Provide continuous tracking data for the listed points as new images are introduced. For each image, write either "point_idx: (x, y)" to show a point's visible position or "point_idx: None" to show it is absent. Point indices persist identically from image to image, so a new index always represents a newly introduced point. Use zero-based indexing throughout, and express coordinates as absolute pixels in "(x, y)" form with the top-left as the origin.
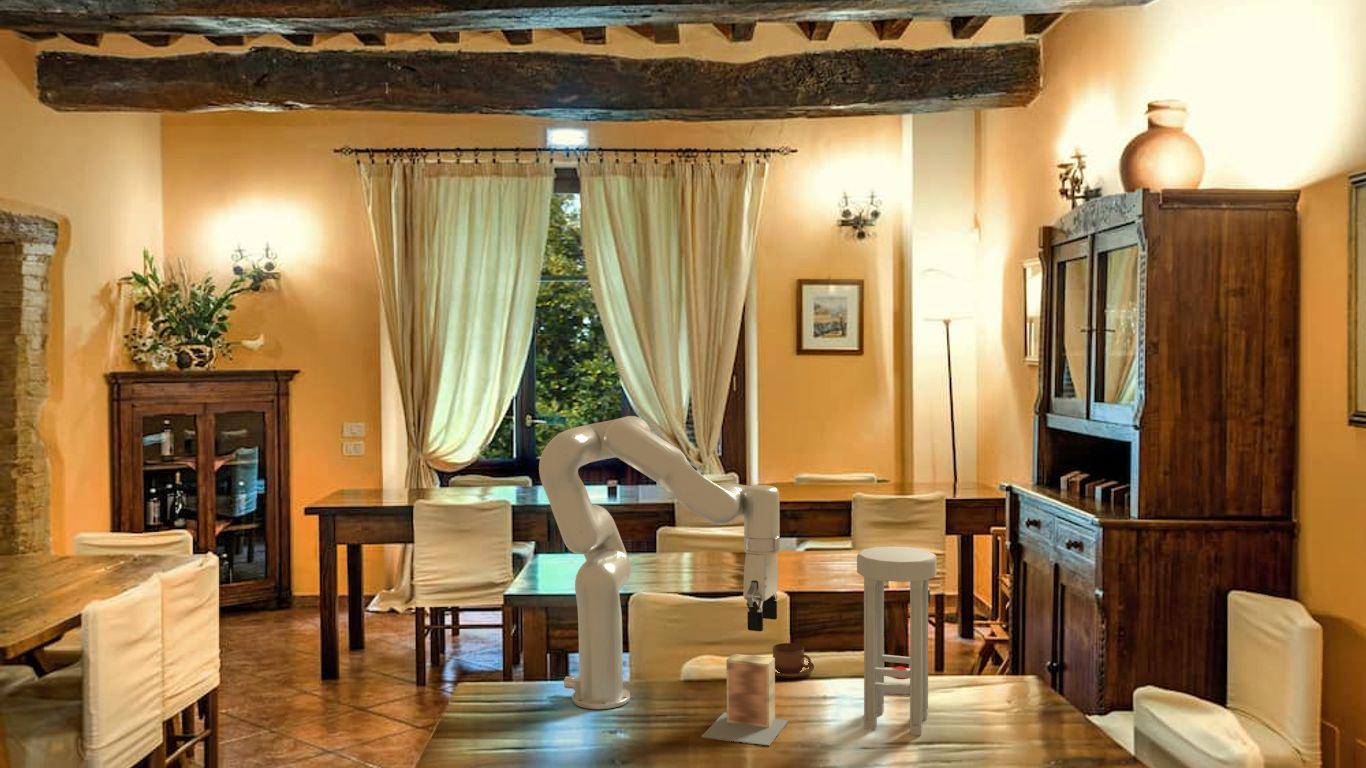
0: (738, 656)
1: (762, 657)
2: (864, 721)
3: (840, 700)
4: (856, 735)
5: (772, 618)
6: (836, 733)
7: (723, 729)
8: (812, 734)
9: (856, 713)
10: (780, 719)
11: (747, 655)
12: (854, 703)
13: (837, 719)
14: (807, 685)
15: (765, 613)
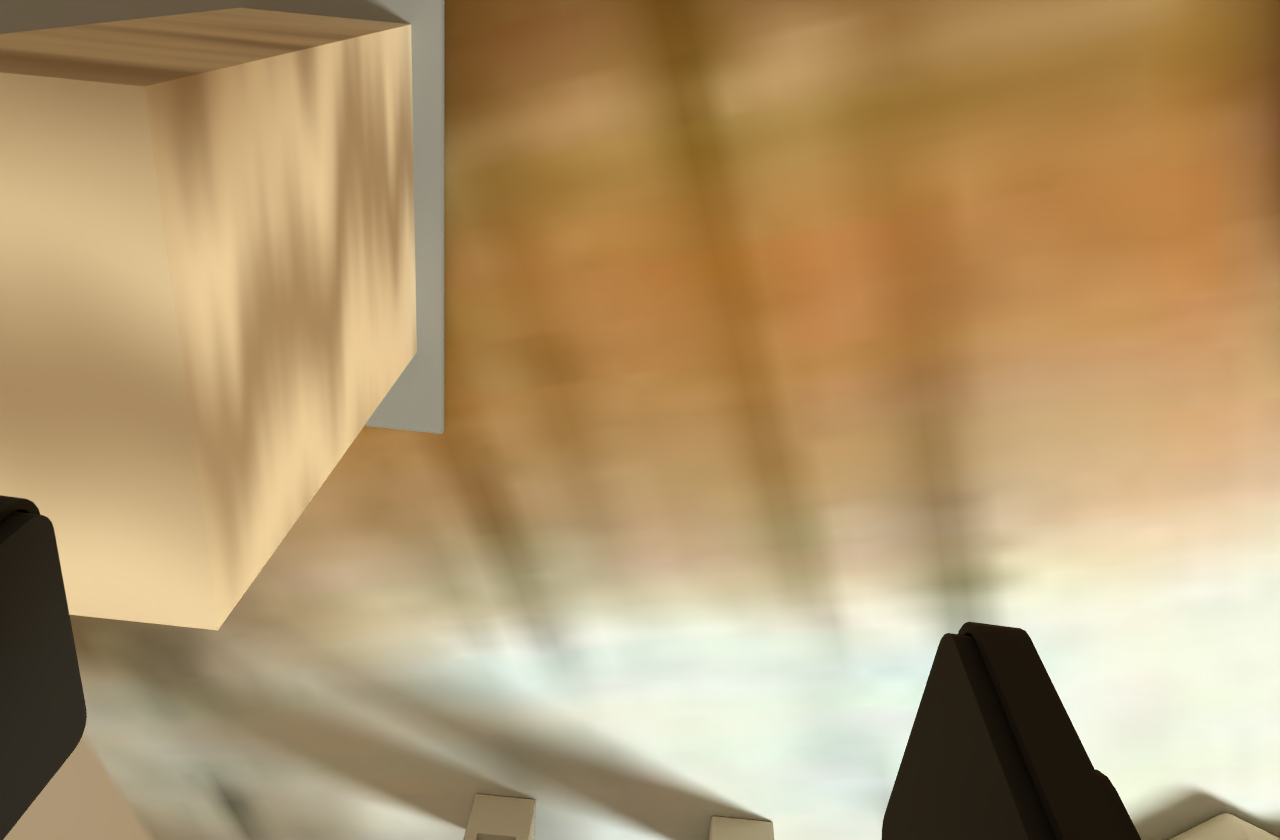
0: (55, 200)
1: (169, 505)
2: (466, 828)
3: (910, 669)
4: (374, 767)
5: (897, 794)
6: (363, 685)
7: (85, 18)
8: (297, 578)
9: (700, 753)
10: (437, 384)
11: (157, 314)
12: (867, 737)
13: (576, 675)
14: (1216, 455)
15: (952, 753)
